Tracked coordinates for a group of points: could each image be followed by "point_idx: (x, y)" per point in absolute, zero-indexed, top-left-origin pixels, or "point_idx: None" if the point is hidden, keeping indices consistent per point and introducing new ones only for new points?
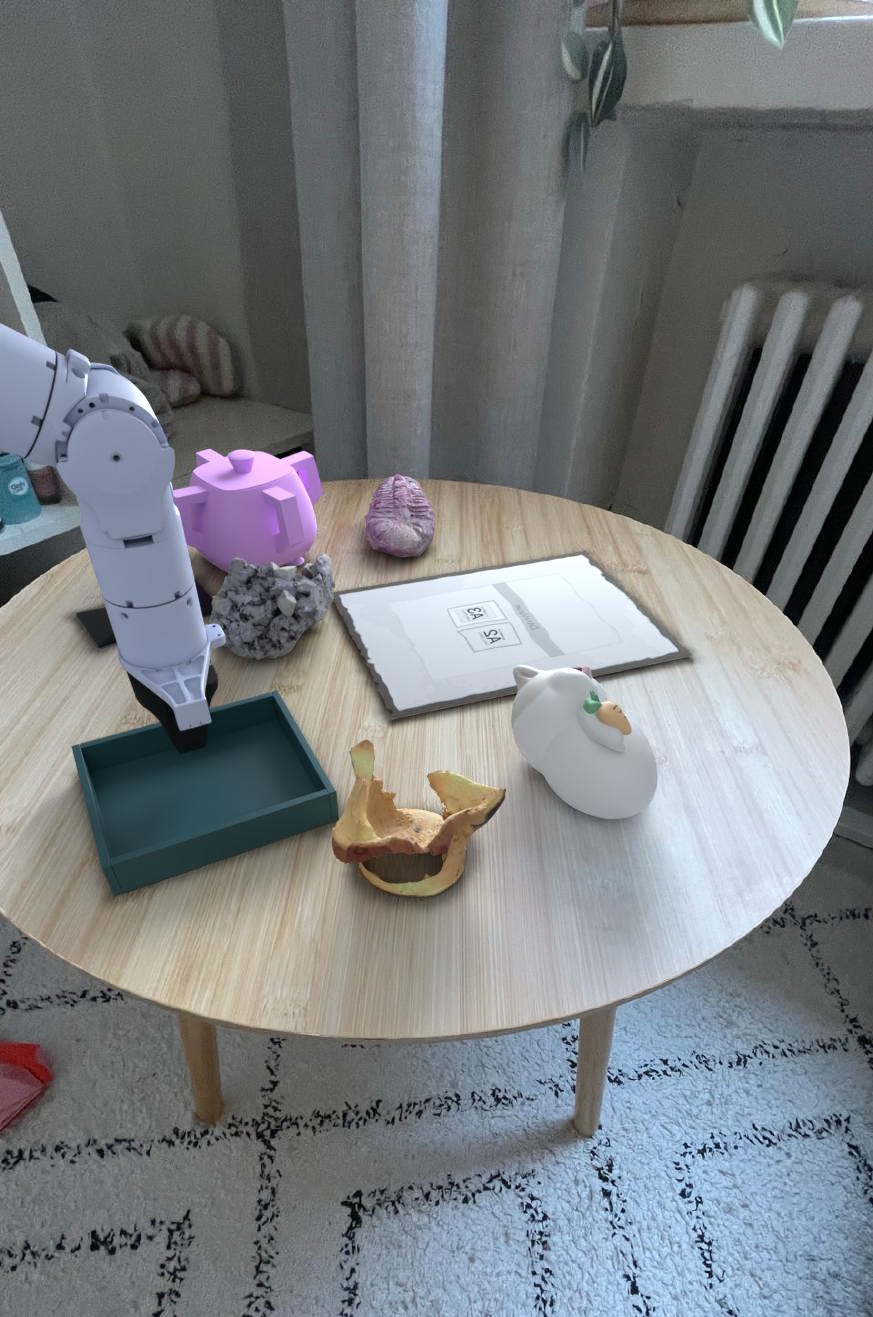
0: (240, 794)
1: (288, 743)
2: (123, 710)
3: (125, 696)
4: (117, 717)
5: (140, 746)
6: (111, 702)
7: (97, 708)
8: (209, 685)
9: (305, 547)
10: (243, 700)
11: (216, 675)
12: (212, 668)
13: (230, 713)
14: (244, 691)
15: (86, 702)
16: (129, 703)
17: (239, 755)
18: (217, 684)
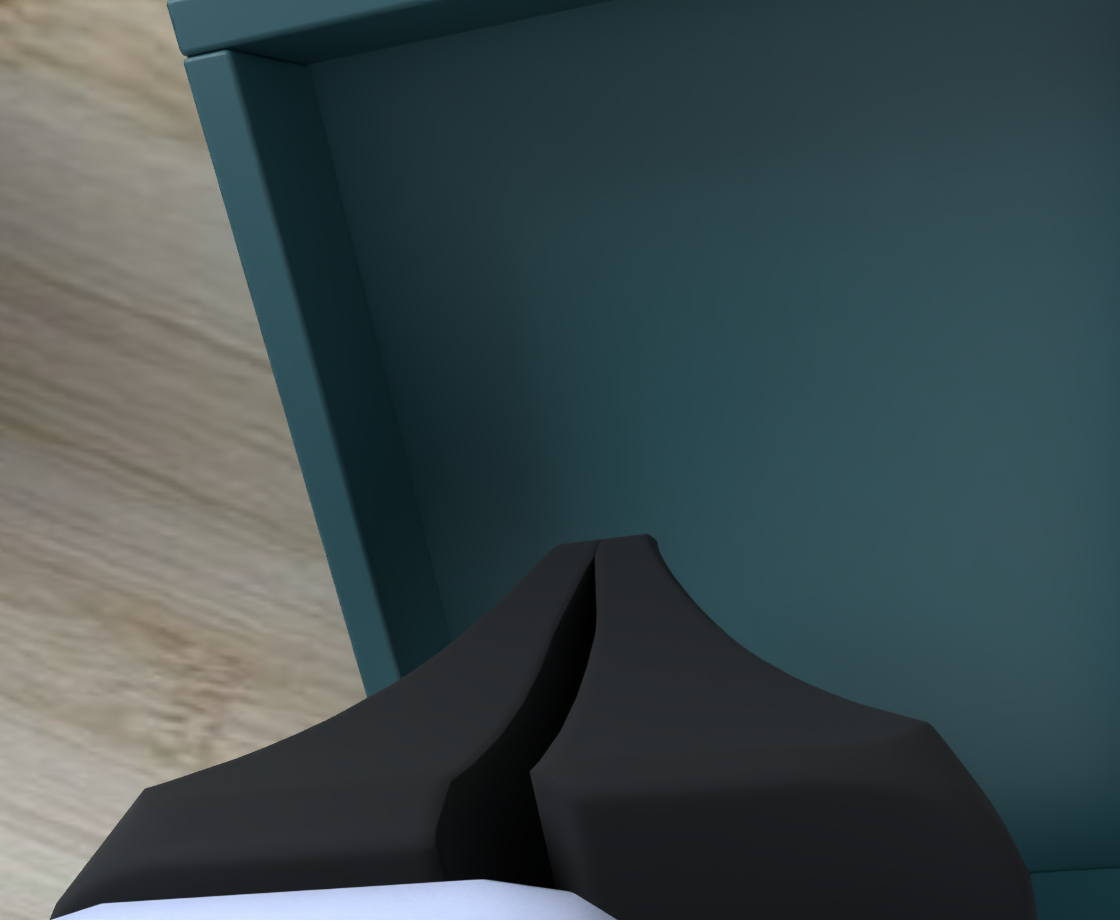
0: (886, 358)
1: (548, 25)
2: (119, 756)
3: (23, 742)
4: (163, 779)
5: None
6: (61, 791)
7: (96, 838)
8: (1024, 880)
9: None
10: (254, 265)
11: (853, 788)
12: (656, 805)
13: (331, 352)
14: (9, 219)
15: (54, 869)
16: (72, 732)
17: (578, 323)
18: (939, 749)
